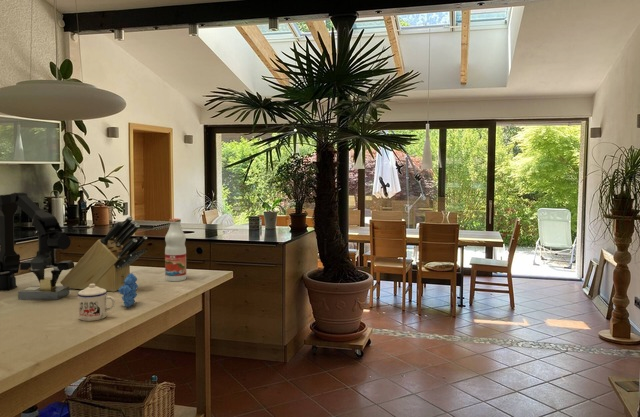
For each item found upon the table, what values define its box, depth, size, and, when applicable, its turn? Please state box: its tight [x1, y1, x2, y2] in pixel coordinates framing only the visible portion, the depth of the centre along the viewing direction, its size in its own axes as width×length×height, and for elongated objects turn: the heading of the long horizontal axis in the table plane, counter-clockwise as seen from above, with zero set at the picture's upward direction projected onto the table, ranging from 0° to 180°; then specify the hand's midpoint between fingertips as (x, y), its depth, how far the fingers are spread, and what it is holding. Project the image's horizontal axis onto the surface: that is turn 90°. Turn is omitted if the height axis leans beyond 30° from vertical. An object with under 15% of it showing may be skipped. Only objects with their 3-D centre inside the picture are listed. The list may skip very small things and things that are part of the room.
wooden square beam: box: [39, 277, 57, 291], centre depth 202 cm, size 4×4×7 cm
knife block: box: [59, 215, 148, 293], centre depth 215 cm, size 11×35×31 cm, turn 78°
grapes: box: [117, 272, 139, 308], centre depth 189 cm, size 12×7×12 cm, turn 3°
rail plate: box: [17, 285, 71, 301], centre depth 202 cm, size 15×10×3 cm, turn 91°
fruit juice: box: [164, 218, 187, 282], centre depth 233 cm, size 9×9×28 cm
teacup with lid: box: [77, 284, 116, 322], centre depth 174 cm, size 12×9×12 cm
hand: (48, 286), depth 202 cm, fingers closed on wooden square beam, 4 cm apart
